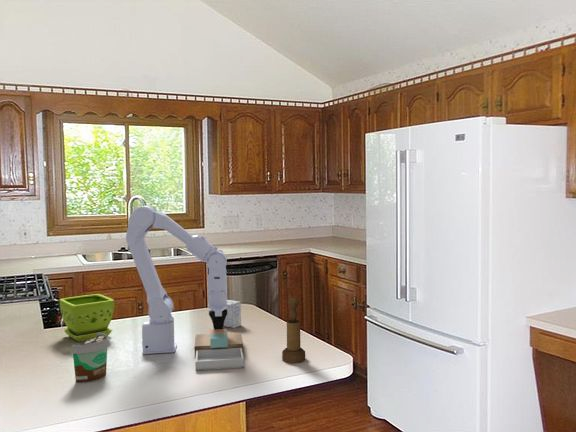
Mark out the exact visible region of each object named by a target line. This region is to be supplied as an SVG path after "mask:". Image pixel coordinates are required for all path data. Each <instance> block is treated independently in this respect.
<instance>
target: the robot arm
mask: <svg viewBox="0 0 576 432" xmlns="http://www.w3.org/2000/svg"><path fill="white" fill-rule="evenodd" d="M127 225H128V226H127V229H126V230H127V231H126V235H125V240H126V241H125V242H126V243H127V245H128V249H129V251H130V254H131V256H132V259H133V262H134V264H135V265H134V266H135V267H136V270H137V272H138V274H139V278H140V280H141V283H142V285H143V287H144V291H145V293H146V302H147V305H148V311H147V312H148V313H147V314H148V316H149V320H147V321H143V322H142V326H141V327H142V328H141V336H142V337H141V340H142V341H141V344H142V345H141V347H142V354H143V355H149V354H151V355H153V354H165V353H166V354H167V353H168V354H169V353H175V352H176V348H177V346H178V345H177V344H178V343H177V342H175V318H174V317H173V315H172V312H173V311H174V308H175V304H174V301H173V300H172V298H171V297H170V296H169V295H168V293H167V291H166V290H165V288H164V287H163V285H162V283H161V279H160V277H159V275H158V272H157V269H156V267H155V264H154V262H153V259H152V256H151V254H150V251H149V248H148V246H147V243H146V240H145V238H146V236H147V234H148V232H149V231H150V229H151V228H153V229H161V230H162V229H163V230H165V231H167V233H169V234H171V235H172V236H174V237H175V238H177V239H178V240H179V241H181V242H182V243H184V245H185V248H186V251H187V252H189V253H190V254H191V255H193V256H194V257H196V258H197V259H198V260H200V262H202V263H206V266H207V268H208V275H207V284H208V285H207V288H208V289H207V294H208V297H207V298H208V304H207V308H208V309H210V310H209V311H208V316H209V318H210V319H211V322H212V326H213V329H224V327H225V326H224V321H225V318H226V316H227V309H226V308H227V307H231V303H227V300H228V275H227V267H226V266H227V263H228V262H227V261H228V259H227V258H228V257H227V255H226V253H225V252H224V251H223V250H222V249H219V247H218V246H217V245H215V246H213V244H212V243H210V242H209V241H208V240H206V237H205V235H201V236H200V235H199V234H195V235H192V234H191V233H190V232H188V231H187V230H186V229H185V228H183V227H182V226H181V225H180V224H179V223H177V222H176V221H174V219H172V218H171V217H170V216H168V215H167V214H166V213H164V212H163V211H161V210H159V209H157V208H155V207H154V206H153V205H144V206H138V207H137V208H135V209H134V210H133V212H132V213H131V215H130V216H129V218H128V224H127Z"/></svg>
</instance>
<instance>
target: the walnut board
mask: <svg viewBox="0 0 576 432" xmlns="http://www.w3.org/2000/svg"><path fill="white" fill-rule="evenodd" d="M227 335H228V347H217V348H210V333H202V334H201V333H200V334H195V337H194V338H195V339H194V359H196V350H210V349H227V348H242V352H243V353H244V342H243V337H242V332H239V331H238V332H227Z"/></svg>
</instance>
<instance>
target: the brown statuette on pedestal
mask: <svg viewBox="0 0 576 432" xmlns="http://www.w3.org/2000/svg"><path fill="white" fill-rule="evenodd" d="M299 302H300V301H299V299H298V297H296V296H291V297H289V298H288V300H287V305H288V306H289V308H290V311H289V314H288V315H289V319H288V320H286V347H285V348H284V349H283V350H282V351H281V354H282V355H281V360H282V361H283V362H285V363H288V364H297V363H298V364H299V363H304V362H305V361H304V360H306V350H305V349H303V348H302V347H301V320H300V319H297V317H298V312H297V307H298V306H299Z"/></svg>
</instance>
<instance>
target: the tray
mask: <svg viewBox="0 0 576 432" xmlns="http://www.w3.org/2000/svg"><path fill="white" fill-rule="evenodd" d="M194 359H195V360H194V361H195V364H194V365H195V366H194V368H195V371H197V372H198V371H212V370H213V371H214V370H227V369H229V370H230V369H242V368H243V369H244V368H245V365H244V364H245V359H244V351H243V352H242V348H227V349H210V350H196V358H194Z"/></svg>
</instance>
